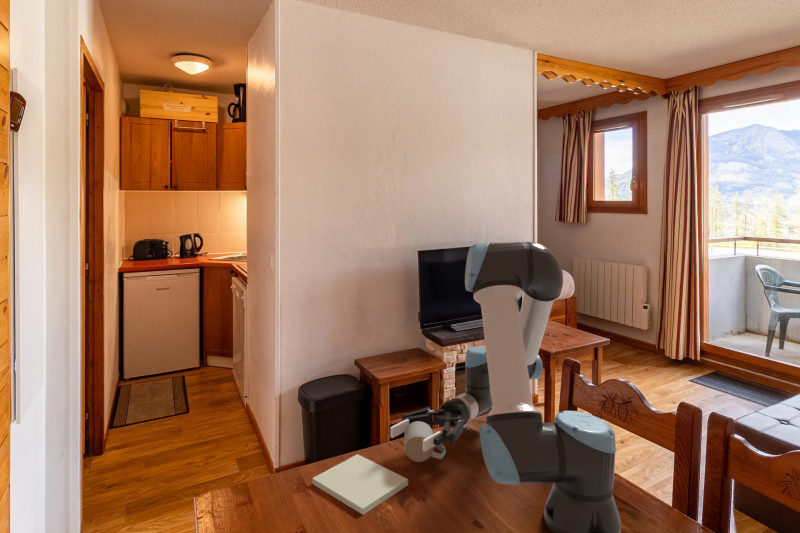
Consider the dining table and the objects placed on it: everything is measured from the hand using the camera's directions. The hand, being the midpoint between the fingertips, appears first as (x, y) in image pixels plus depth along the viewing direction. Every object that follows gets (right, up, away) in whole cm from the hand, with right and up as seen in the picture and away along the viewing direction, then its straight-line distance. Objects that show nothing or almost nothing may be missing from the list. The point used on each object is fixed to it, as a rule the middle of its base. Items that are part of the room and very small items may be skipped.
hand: (407, 439), depth 120 cm
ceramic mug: (+4, -6, +4) cm, 8 cm away
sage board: (-12, -10, -3) cm, 16 cm away
